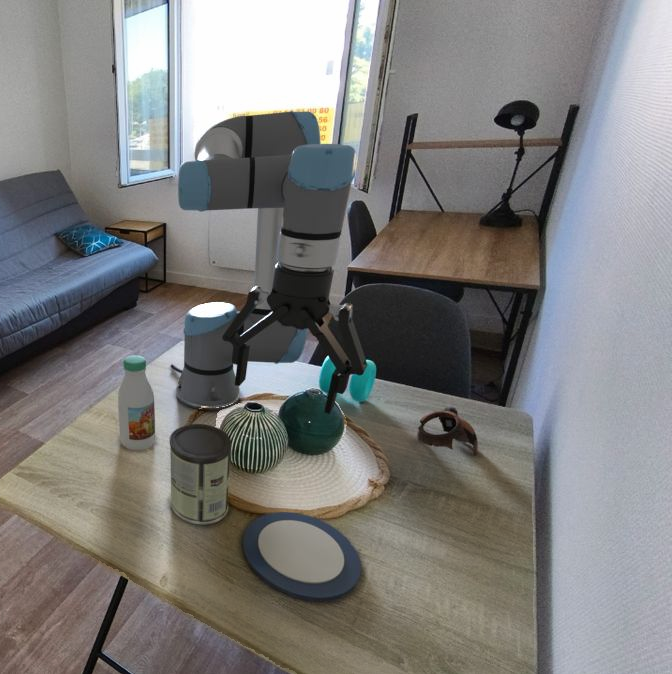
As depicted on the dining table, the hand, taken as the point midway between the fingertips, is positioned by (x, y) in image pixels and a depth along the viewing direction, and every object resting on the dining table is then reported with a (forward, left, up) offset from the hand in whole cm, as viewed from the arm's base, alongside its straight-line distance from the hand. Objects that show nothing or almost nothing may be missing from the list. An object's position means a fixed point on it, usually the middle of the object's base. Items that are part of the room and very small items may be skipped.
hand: (282, 395), depth 79 cm
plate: (+7, -5, -24) cm, 26 cm away
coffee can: (-11, -6, -24) cm, 27 cm away
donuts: (-6, +48, -24) cm, 54 cm away
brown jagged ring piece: (+16, +41, -24) cm, 50 cm away
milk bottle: (-32, +2, -24) cm, 40 cm away
